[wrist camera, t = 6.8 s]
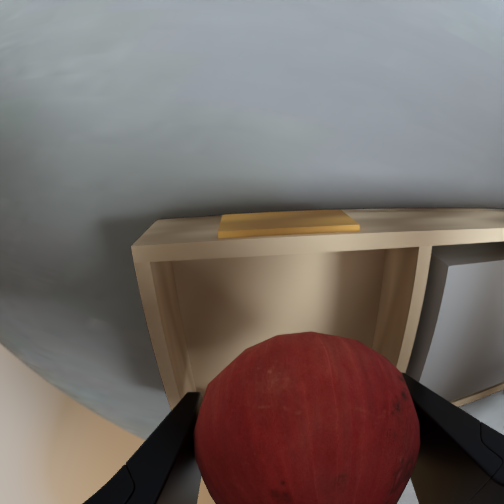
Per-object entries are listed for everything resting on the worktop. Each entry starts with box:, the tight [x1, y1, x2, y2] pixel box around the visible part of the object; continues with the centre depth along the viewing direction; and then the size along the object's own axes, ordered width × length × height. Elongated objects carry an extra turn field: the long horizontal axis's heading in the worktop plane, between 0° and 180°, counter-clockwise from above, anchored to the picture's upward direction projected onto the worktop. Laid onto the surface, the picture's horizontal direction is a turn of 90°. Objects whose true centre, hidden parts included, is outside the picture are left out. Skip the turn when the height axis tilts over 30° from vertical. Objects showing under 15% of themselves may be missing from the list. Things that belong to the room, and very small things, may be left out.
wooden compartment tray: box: [131, 208, 504, 411], centre depth 11 cm, size 18×9×3 cm, turn 93°
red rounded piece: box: [193, 331, 420, 504], centre depth 7 cm, size 6×6×8 cm
